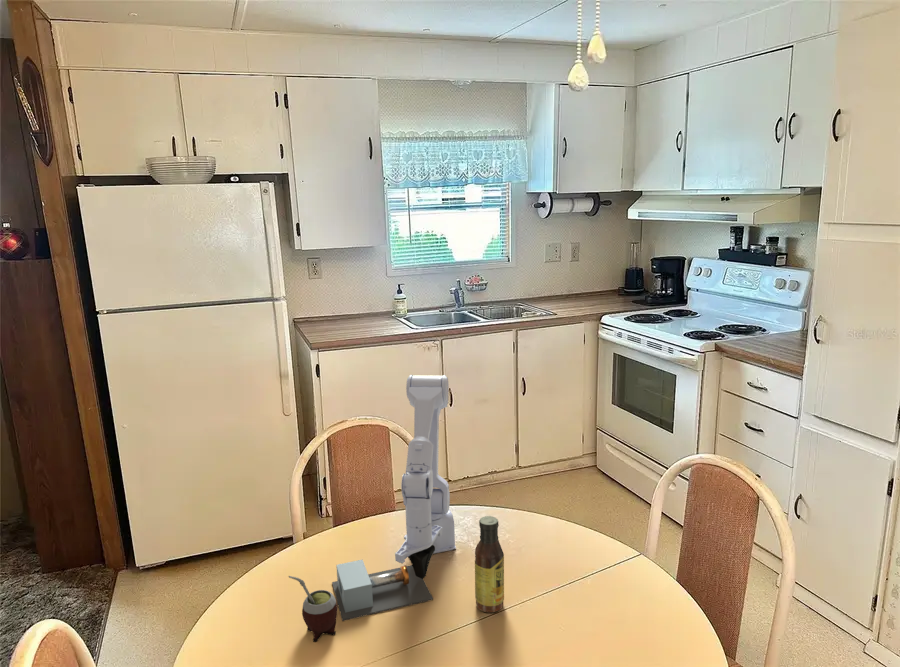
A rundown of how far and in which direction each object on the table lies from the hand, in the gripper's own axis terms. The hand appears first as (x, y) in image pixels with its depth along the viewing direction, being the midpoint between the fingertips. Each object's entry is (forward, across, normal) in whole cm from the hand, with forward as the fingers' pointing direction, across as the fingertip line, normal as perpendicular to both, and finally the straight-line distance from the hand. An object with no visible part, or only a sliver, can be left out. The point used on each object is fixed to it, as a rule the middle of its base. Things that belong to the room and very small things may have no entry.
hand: (420, 576), depth 145 cm
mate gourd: (+2, +25, -6) cm, 26 cm away
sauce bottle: (+2, -2, +17) cm, 18 cm away
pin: (+1, +7, -5) cm, 9 cm away
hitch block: (+2, +13, -9) cm, 15 cm away
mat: (+2, +8, -5) cm, 10 cm away
